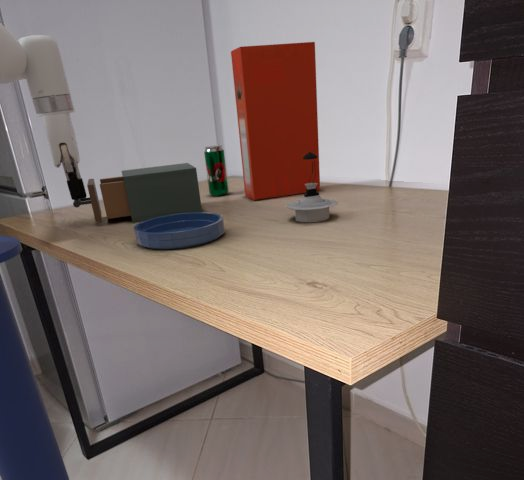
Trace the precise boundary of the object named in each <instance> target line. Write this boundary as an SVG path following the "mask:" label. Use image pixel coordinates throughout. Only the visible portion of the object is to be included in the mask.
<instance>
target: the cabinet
mask: <svg viewBox="0 0 524 480" xmlns="http://www.w3.org/2000/svg"><path fill="white" fill-rule="evenodd" d="M121 176H123V178H124V182H125V187H126V192H127V197H128V202H129V207H130V212H131V216H130V218H131V222H132V223H137V222H143V221H146V220H149V219H152V218H156V217H160V216H166V215H172V214H180V213H192V212H203V209H202V200H201V194H200V193H201V192H200V186H199V179H198V171H197V167H195V166H194V165H192V164H191V163H189V162H184V163H183V162H182V163H175V164H167V165H158V166H157V165H156V166H152V167H141V168H134V169H125V170H121Z"/></svg>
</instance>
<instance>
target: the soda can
mask: <svg viewBox="0 0 524 480" xmlns="http://www.w3.org/2000/svg"><path fill="white" fill-rule="evenodd" d="M204 160H205V169H206V177H207V185H208V193H209V195H210V196H211V197H223V196H224V197H225V196H227V195H228V193H229V183H228V175H227V165H226V157H225V150H224V148H223V146H222V145H210V146H205V147H204Z"/></svg>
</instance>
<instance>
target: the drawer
mask: <svg viewBox="0 0 524 480" xmlns="http://www.w3.org/2000/svg"><path fill="white" fill-rule="evenodd" d="M86 188H87V191H88V195H89V197H86V198H83V199H76V200H73V202H72V206H73V207H75V208H80V206H84V205H91V207H92V208H91V209H92V213H93V217H94V222H95V223H102V209H101V204H100V200H99V195H98V191H97V187H96V183H95V179H94V178H89V179H88V180H87V185H86ZM99 189H100V192H101V193H100V194H101V198H102V202H103V206H104V210H105V214H106V219H107V220H109V219H116V218H117V219H118V218H125V217H131V212H130V207H129V202H128V197H127V192H126V187H125V182H124V178H123V176H122V175H121V176H115V177H105V178H99Z"/></svg>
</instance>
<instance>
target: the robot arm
mask: <svg viewBox="0 0 524 480" xmlns="http://www.w3.org/2000/svg"><path fill="white" fill-rule="evenodd" d="M67 79H68V78H67V75H66V72H65V67H64V63H63V60H62V56H61V53H60V49H59V45H58V42H57V40H56V39H55V38H54V37H53V36H51V35H48V34H32V35H26V36H22V37H20V38H18V39H17V38H16V37H15V35H13V34H12V33H11V31H10V30H8V29H7V28H6V27H5V26H4V25H3V24H2V23H1V22H0V85H5V84H9V83H14V82H17V81H23V80H26V83H27V87H28V90H29V93H30V97H31V100H32V104H33V107H34V110H35V114H36V117H37V118H39V117H42V121H43V125H44V130H45V134H46V135H45V136H46V139H47V142H48V146H49V149H50V153H51V158H52V162H53V165H54V167H55V168H58V169H59V168H60V167H61V166H62V168H63V171H64V175H65V178H66V183H67V188H68V192H69V195H70V198H71V200H73V201H74V200H76V199H83V198H87V191H86V188H85V183H84V181H83V178H82V176H81V172H80V167H79V165H78V164H79V163H80V161H81V158H80V153H79V146H78V142H77V138H76V133H75V129H74V125H73V122H72V118H71V114H72V113H76V110H75V105H74V102H73V99H72V95H71V90H70V87H69V83H68V80H67Z"/></svg>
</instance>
